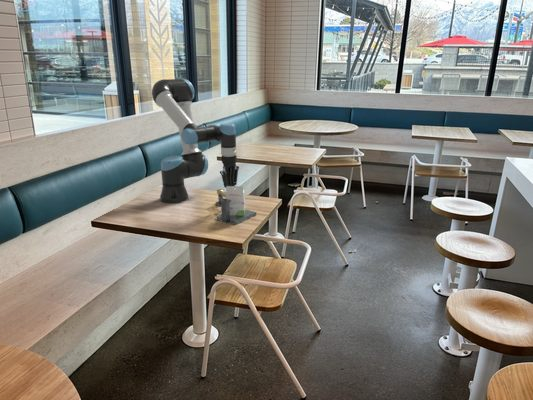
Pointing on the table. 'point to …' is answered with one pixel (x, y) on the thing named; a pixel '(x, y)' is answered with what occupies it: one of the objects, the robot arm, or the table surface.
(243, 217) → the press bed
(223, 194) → the lever
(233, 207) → the ink box
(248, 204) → the table surface
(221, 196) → the lever post
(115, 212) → the table surface
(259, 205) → the table surface
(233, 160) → the robot arm
